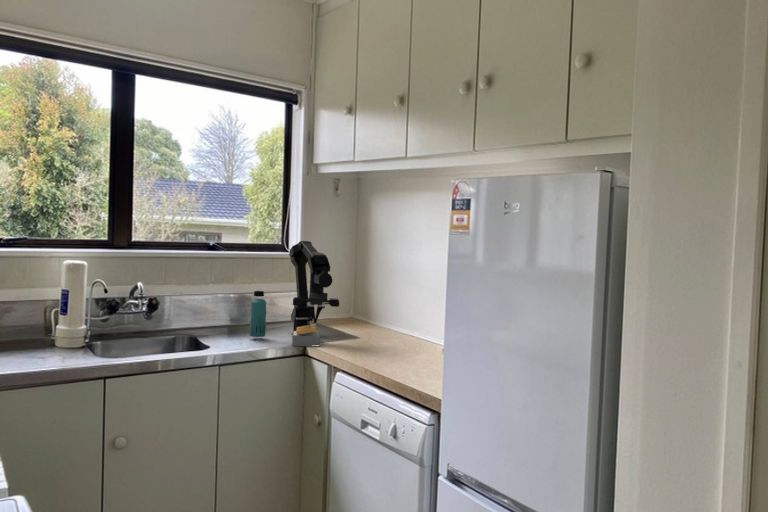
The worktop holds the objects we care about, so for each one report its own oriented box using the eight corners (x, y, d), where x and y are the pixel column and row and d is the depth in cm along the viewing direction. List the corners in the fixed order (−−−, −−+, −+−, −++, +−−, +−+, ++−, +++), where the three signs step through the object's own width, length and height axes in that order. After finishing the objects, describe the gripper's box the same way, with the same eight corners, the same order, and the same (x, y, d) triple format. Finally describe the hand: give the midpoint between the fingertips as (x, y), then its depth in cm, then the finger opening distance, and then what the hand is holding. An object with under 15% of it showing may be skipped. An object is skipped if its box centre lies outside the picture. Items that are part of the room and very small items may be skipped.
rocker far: (297, 332, 233) (296, 328, 233) (297, 330, 237) (296, 327, 237) (316, 328, 234) (316, 325, 234) (316, 327, 238) (316, 323, 238)
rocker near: (297, 334, 228) (296, 330, 228) (297, 333, 231) (296, 329, 231) (317, 331, 229) (316, 327, 229) (316, 329, 232) (316, 325, 232)
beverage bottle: (254, 341, 232) (256, 291, 231) (246, 338, 237) (248, 290, 236) (268, 339, 237) (270, 291, 236) (260, 337, 242) (262, 289, 241)
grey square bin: (292, 345, 227) (292, 333, 226) (292, 340, 238) (293, 329, 237) (320, 346, 228) (320, 334, 228) (319, 341, 239) (320, 329, 239)
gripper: (293, 286, 226) (291, 325, 227) (340, 287, 228) (338, 326, 229) (293, 283, 237) (292, 320, 238) (339, 285, 239) (337, 322, 240)
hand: (315, 322), depth 236 cm, fingers closed
